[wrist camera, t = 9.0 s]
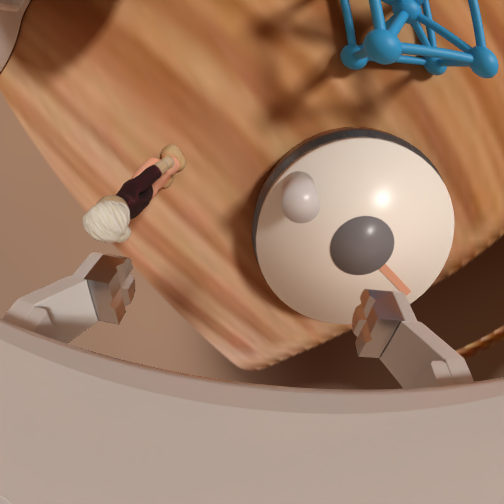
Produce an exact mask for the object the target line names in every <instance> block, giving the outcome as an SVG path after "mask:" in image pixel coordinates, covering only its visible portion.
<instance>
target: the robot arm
mask: <svg viewBox="0 0 504 504" xmlns="http://www.w3.org/2000/svg"><path fill="white" fill-rule="evenodd" d="M29 2H30V0H0V72H1V70H2V69H3V67H4V65H5V64H6V62H7V60H8V58H9V56H10V54H11V52H12V49H13V47H14V44H15V41H16V38H17V35H18V32H19V28H20V23H21V20H22V16H23V14H24V12H25V10H26V8H27V6H28V4H29ZM132 268H133V266H132V260H131V259H130V258H127V257H121V256H116V255H110V254H104V253H98V252H92V253H91V254H90V255H89V256H88V257H87V258H86V260H85V261H84V262H83V263H82V264H81V265H80V267H79V268H78V269H77V270H76V271H75V273H74V274H73V275H72V276H67V277H64V278H62V279H60V280H58V281H55V282H54V283H51V284H49V285H47V286H45V287H43V288H41V289H38V290H36V291H34V292H32V293H30V294H28V295H26V296H24V297H21V298H19V299H18V300H17V301H16V302H15V303H14V304H13V306H12V307H11V308H10V310H9V311H8V312H7V313H6V314H5V316H4V317H3V318H2V319H0V504H504V377H503V378H497V379H491V380H486V381H479V382H474V381H473V378H472V376H471V374H470V371H469V369H468V367H467V364H466V362H465V360H464V358H463V357H462V356H460V355H459V354H458V353H457V352H456V351H455V350H453V349H452V348H451V347H450V346H449V345H447V344H446V343H445V342H444V341H443V340H442V339H440V338H439V337H438V336H437V335H436V334H435V333H433V332H432V331H431V330H430V329H429V328H427V327H426V326H425V325H424V324H422V323H421V322H417V320H416V318H415V315H414V313H413V311H412V309H411V307H410V304H409V302H408V300H407V298H406V296H405V294H404V293H403V292H400V291H382V290H371V289H364V290H363V292H362V294H361V296H360V300H361V304H360V305H358V306H357V307H356V308H355V311H354V314H353V319H352V329H353V333H354V334H355V335H356V336H357V337H358V338H357V340H356V342H355V343H356V347H357V351H358V356H359V357H376V358H380V360H381V361H382V362H383V363H384V365H385V366H386V367H387V368H388V369H389V371H390V372H391V373H392V374H393V376H394V377H395V378H396V379H397V381H398V382H399V383H400V384H401V386H402V387H403V388H404V389H389V390H388V389H387V390H332V389H331V390H330V389H310V388H293V387H281V386H269V385H260V384H250V383H243V382H234V381H228V380H221V379H214V378H208V377H202V376H195V375H190V374H184V373H179V372H174V371H169V370H164V369H159V368H155V367H150V366H146V365H142V364H137V363H133V362H129V361H125V360H121V359H117V358H113V357H110V356H106V355H102V354H99V353H96V352H92V351H89V350H85V349H82V348H79V347H76V346H73V345H69V344H68V343H69V342H70V341H72V340H73V339H75V338H76V337H77V336H79V335H80V334H81V333H83V332H84V331H86V330H87V329H88V328H90V327H91V326H92V325H94V324H95V323H97V322H98V320H99V321H104V322H108V323H114V324H119V323H120V321H121V320H122V318H123V316H124V314H125V312H126V311H125V306H126V305H128V304H130V303H131V301H132V299H133V297H134V292H135V280H134V277H133V276H132V275H131V274H130V272H131V270H132Z"/></svg>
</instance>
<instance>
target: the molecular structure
mask: <svg viewBox="0 0 504 504" xmlns="http://www.w3.org/2000/svg"><path fill="white" fill-rule="evenodd" d="M381 1H383V2H385V3H387V4H389V5H391V6H392V11H393V13H394V15H393V16H392V17H391V18H390V19H388V20H387V21H386V22H385V20H384V15H383V10H382V5H381ZM340 2H341V7H342V12H343V18H344V23H345V29H346V35H347V41H348V45H346V46H345V47H344V48H343V49H342V50H341V53H340V58H341V61H342V63H343V64H344V65H345V66H346V67H348V68H349V69H352V70H359V69H362V68H363V67H364V66H365V65H366V64H367V61H375V62H377V63H379V64H384V65H387V64H392V63H406V64H417V65H424V67H425V69H426V70H427V71H428V72H429V73H431V74H433V75H441V74H443V73H444V72H445V71H446V69H447V67H448V66H465V67H470V68H471V69H472V71H473V72H474V73H475V74H477V75H478V76H480V77H483V78H492V77H493V76H495V74H496V73H497V71H498V61H497V58H496V56H495V55H494V54H493V52H492V51H490V50H489V49H488V48H486V43H485V37H484V30H483V25H482V20H481V15H480V10H479V5H478V1H477V0H468V2H469V7H470V11H471V16H472V21H473V27H474V33H475V39H476V46H475V47H473V48H472V47H470V46H469V45H468V44H466V43H465V42H464V41H462V40H461V39H460V38H458V37H457V36H455V35H454V34H453V33H451V32H450V31H448V30H447V29H445V28H444V27H442V26H441V25H439V24H438V23H436V22H434V21H433V20H432V15H431V10H430V5H429V1H428V0H369V4H370V9H371V15H372V20H373V26H374V30H372V31H370V32H369V33H368V34H367V35H366V36H365V38H364V42H363V43H362V44H361V45H360V46H359V45H357V43H356V37H355V31H354V25H353V19H352V14H351V8H350V3H349V0H340ZM420 5H422V8H423V13H424V15H423V14H422V9H421V7H420ZM418 21H419V22H421V23H422V24H424V25H426V30H427V36H428V39H427V37H426V35H425V33H424V31H423V29H422V27H421V25H420V23H419V22H418ZM405 23H408V24H411V26H412V27H413V29H414V31H415V33H416V35H417V36H418V38H419V40H420V42H421V44H422V45H418V44H410V43H401V42H400V41H399V39H398V38H397V35H398V33H399V32H400V30H401V28H402V27H403V25H404V24H405ZM434 31H435V32H436V33H438V34H439V35H441V36H442V37H444V38H445V39H447V40H448V41H449V42H451V43H452V44H454V45H455V46H456V47H458V48H459V49H460V50H462V51H463V52H459V51H454V50H449V49H444V48H438V47H437V46H436V39H435V32H434ZM401 54H411V55H420V56H423V58H422V57H414V56H404V55H401Z"/></svg>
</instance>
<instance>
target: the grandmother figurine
mask: <svg viewBox="0 0 504 504" xmlns="http://www.w3.org/2000/svg"><path fill="white" fill-rule="evenodd" d="M161 158H162V159H157V158H150V159H148V160H146V161H145V162H144V163H143V164H142V165H141V166H140V167H139V168H138V169H137V171H136V172H135V174H134V175H133V176H132V178H131V180H128V181H127V182H125V183H124V184H123V186H122V188H121V189H120V191H119V192H118V193H117V194H116V195H108V196H105V197H103V198H101V199H100V200H99V201H98V202H97V204H96V205H95V206H93V207H92V208H91V209H90V210H89V211H88V212H87V213H86V214H85V216H84V217H83V225H84V228H85V230H86V231H87V232H88V233H89V235H90V236H91V237H93V238H94V239H96V240H98V241H101V242H105V243H114V242H117V243H121V242H125V241H126V240H127V239H128V238H129V236H130V235H131V230H130V228H129V227H128V224H129V222H130V219H133V218H135V217H136V216H138V215H139V214H140V213H141V212H142V210H143V209H144V208H145V207H146V206H147V205H148V204H149V202H150V201H151V199H152V198H153V197H154V196H155V195H156V193H157V192H158V190H159V189H161V188H162V187H163V188H168V187H169V186H170V185H171V184H172V182H173V178H172V176H171V175H173V174H175V173H176V172H178V171H181V170H182V169H184V167H185V165H186V162H185V159H184V157H183V155H182V153H181V151H180V149H179V148H178V147H177V146H175V145H168V146H166V147H165V148H164V149H163V150H162V152H161Z"/></svg>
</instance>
